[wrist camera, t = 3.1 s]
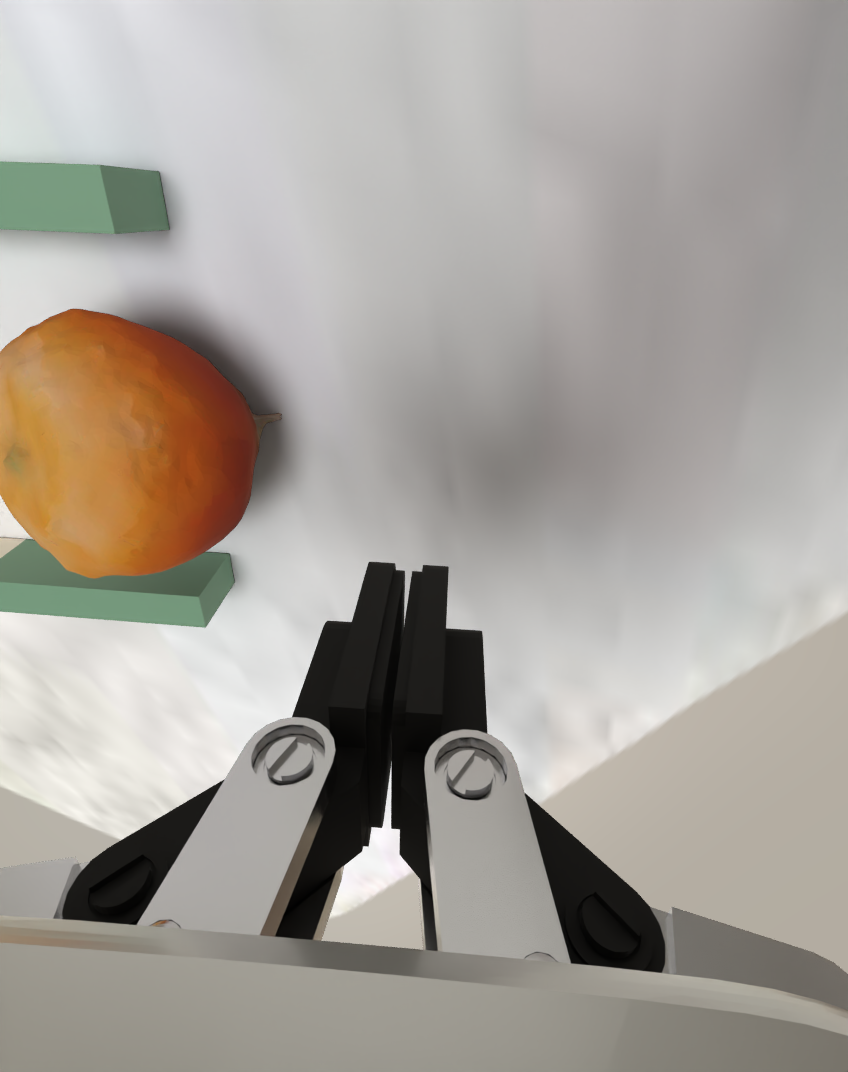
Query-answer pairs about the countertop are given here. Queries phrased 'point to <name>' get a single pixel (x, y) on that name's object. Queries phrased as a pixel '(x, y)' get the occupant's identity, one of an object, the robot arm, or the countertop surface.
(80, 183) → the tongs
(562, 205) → the countertop surface
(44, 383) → the fruit
